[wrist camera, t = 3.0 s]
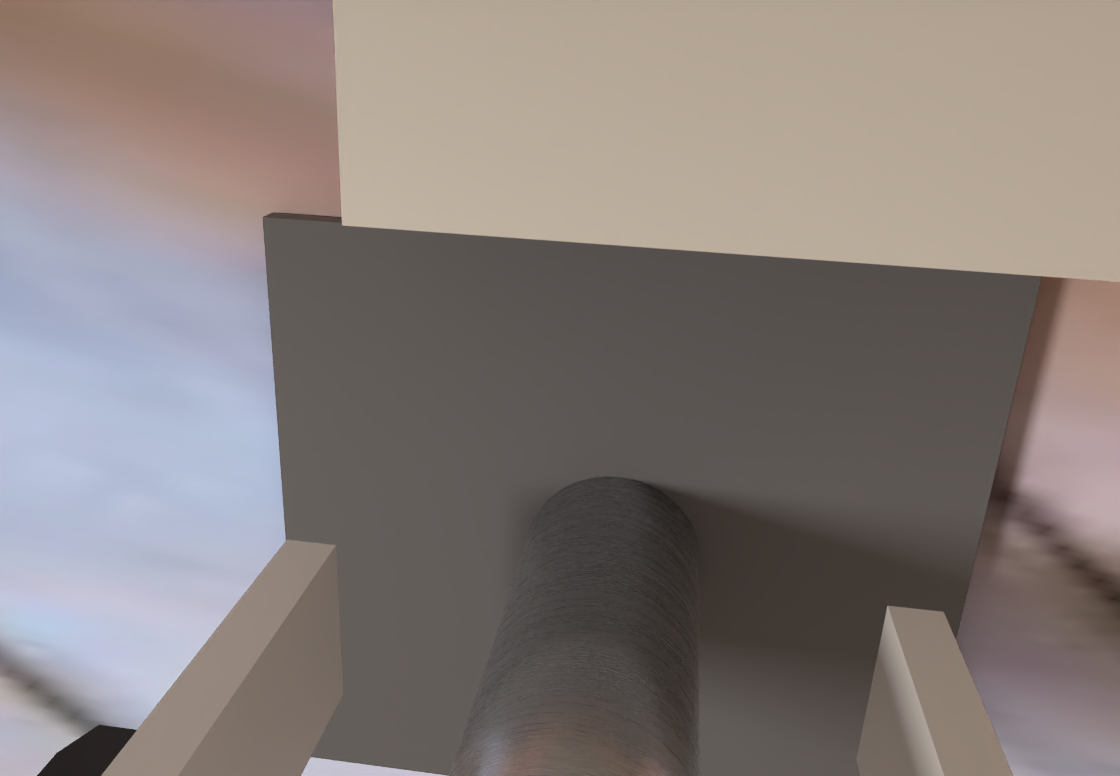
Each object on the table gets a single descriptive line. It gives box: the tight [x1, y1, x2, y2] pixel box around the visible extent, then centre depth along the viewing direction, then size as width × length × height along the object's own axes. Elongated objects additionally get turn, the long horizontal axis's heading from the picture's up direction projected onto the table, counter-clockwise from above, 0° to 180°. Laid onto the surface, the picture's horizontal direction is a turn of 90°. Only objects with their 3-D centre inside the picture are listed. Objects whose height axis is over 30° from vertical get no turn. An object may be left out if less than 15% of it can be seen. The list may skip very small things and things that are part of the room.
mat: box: [263, 213, 1042, 776], centre depth 17 cm, size 12×11×1 cm
